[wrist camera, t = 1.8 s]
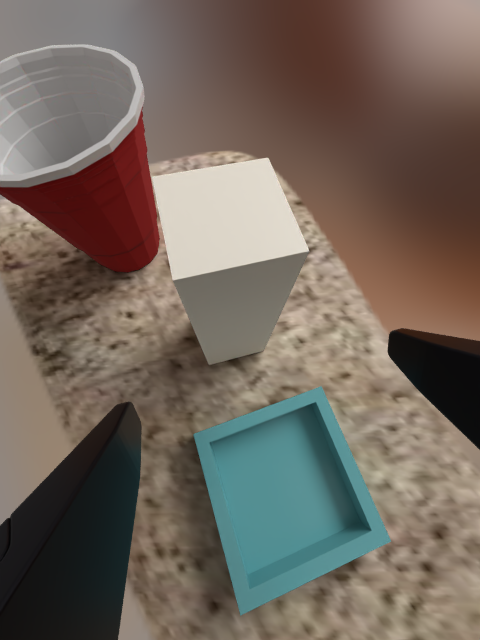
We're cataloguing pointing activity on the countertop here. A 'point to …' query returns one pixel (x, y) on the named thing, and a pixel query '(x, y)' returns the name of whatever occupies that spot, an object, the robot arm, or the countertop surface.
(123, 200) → the plastic cup
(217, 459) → the teal dish
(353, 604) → the countertop surface
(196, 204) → the cream block
